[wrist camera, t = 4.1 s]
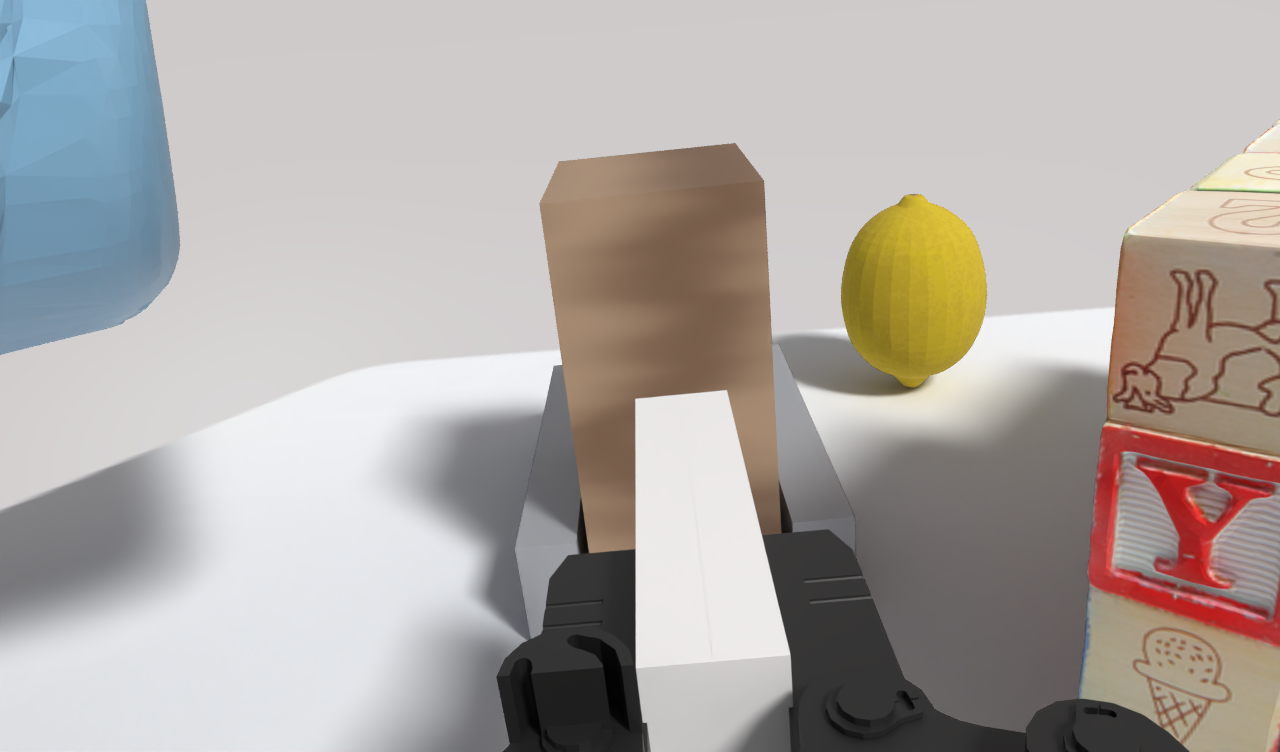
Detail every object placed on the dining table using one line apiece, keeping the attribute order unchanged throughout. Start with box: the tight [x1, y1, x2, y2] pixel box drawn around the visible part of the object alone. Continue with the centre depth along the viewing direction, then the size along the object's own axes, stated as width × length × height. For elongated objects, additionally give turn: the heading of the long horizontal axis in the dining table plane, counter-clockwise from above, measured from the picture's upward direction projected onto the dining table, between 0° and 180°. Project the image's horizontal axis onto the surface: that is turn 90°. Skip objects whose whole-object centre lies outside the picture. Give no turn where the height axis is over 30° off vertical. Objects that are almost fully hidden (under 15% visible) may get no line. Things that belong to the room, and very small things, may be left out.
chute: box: [515, 344, 856, 639], centre depth 30 cm, size 9×13×3 cm
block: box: [540, 143, 781, 553], centre depth 25 cm, size 5×6×11 cm
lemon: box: [841, 194, 987, 387], centre depth 36 cm, size 6×6×8 cm
